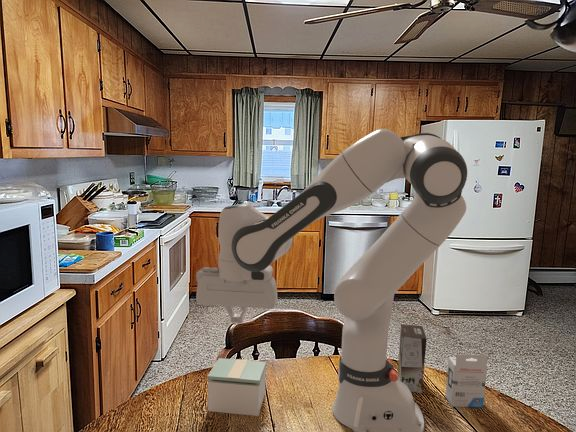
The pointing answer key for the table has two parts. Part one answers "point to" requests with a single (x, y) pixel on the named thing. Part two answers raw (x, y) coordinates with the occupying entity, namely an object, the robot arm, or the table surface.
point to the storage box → (236, 396)
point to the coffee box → (412, 357)
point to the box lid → (237, 370)
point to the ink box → (466, 380)
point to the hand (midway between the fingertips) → (237, 322)
